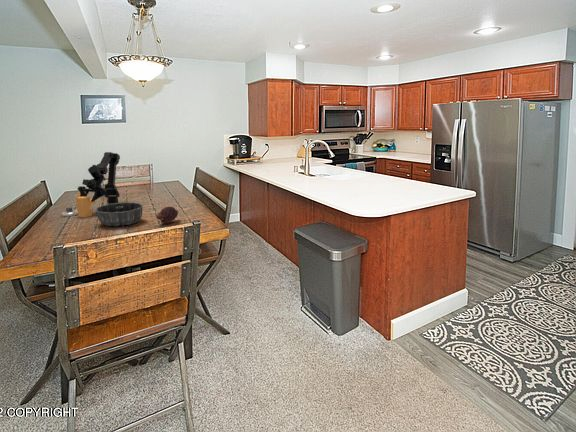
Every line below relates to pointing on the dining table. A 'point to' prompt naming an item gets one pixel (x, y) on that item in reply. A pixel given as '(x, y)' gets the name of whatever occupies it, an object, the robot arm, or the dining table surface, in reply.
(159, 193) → the dining table surface
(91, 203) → the bracket
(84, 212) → the orange rectangular block
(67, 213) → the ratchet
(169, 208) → the pine cone
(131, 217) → the bundt pan
